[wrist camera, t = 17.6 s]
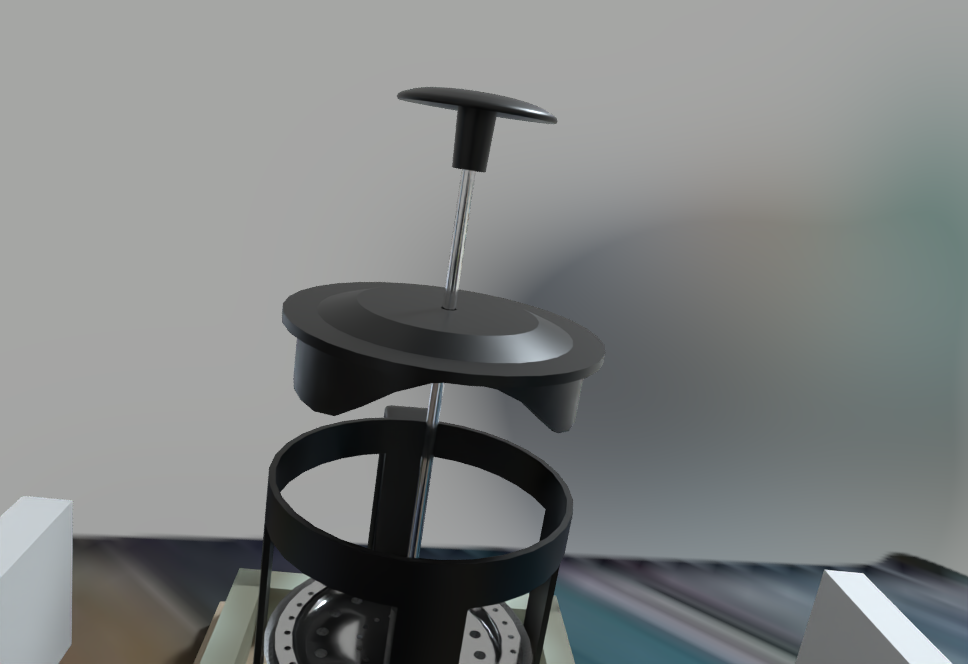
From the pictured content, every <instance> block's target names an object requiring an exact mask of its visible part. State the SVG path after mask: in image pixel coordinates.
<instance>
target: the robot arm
mask: <svg viewBox="0 0 968 664" xmlns="http://www.w3.org/2000/svg"><path fill="white" fill-rule="evenodd" d="M72 520H73V501H72V500H61V499H51V498H40V497H29V496H22V497H21V498H20V499H19V500H18V501H17V502H16V503H15V504H14V505H12V506H11V507H10V508H9V509H8V510H7V511H6V512H5V513H4V514H3V515H2V516H0V664H58V663H59V662H60V660H61V659H62V657H63V656H64V655H65V653H66V652H67V650H68V649H69V647H70V646H71V642H72V530H73V528H72V527H73V524H72V523H73V521H72ZM795 664H952V663H951V662H950V661H949V660H948V659H947V658H946V657H945V656H944V655H943V654H942V653H941V652H940V651H939V650H938V649H937V648H936V647H935V646H934V645H933V644H932V643H931V642H930V641H929V640H928V639H927V638H926V637H925V636H924V635H923V634H922V633H921V632H920V631H919V630H918V629H917V628H916V627H915V626H914V625H913V624H912V623H911V622H910V621H909V620H908V618H907V617H906V616H905V615H904V614H903V613H902V612H901V611H900V610H899V609H898V608H897V607H896V606H895V605H894V604H893V603H892V602H891V601H890V600H889V599H888V598H887V597H886V596H885V595H884V594H883V593H882V592H881V591H880V590H879V589H878V588H877V587H876V586H875V585H874V584H873V583H872V582H871V581H870V580H869V579H868V578H867V577H866V576H865V575H864V574H863V573H853V572H842V571H831V570H824V573H823V576H822V579H821V583H820V586H819V589H818V592H817V595H816V599H815V602H814V605H813V608H812V612H811V615H810V618H809V621H808V624H807V628H806V631H805V634H804V637H803V641H802V644H801V647H800V650H799V653H798V657H797V660H796V663H795Z"/></svg>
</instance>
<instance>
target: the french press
mask: <svg viewBox="0 0 968 664" xmlns="http://www.w3.org/2000/svg"><path fill="white" fill-rule="evenodd" d="M397 97H398V99H400V100H404V101H408V102H413V103H418V104H424V105H429V106H434V107H440V108H445V109H451V110H457V111H458V112H457V113H458V114H457V123H456V134H455V144H454V154H453V165H452V167H454V168H458V169H462V173H461V180H460V187H459V195H458V202H457V209H456V216H455V223H454V230H453V237H452V244H451V251H450V258H449V265H448V273H447V279H446V286H445V288H443V287H436V286H428V285H417V284H405V283H386V282H355V283H337V284H330V285H323V286H316V287H312V288H309V289H305V290H301V291H299V292H297V293H295V294H293V295H291V296H289V297H288V298H287V299H286V301H285V302H284V303H283V309H282V322H283V324H284V325H285V327H286V328H287V330H288V331H289V332H290V333H291V334H292V335H294V336H295V337H297V345H296V356H295V368H294V378H293V379H294V389H295V391H296V393H297V394H298V396H299V398H300V399H301V400H302V401H303V402H304V403H305V404H306V405H307V406H309V407H310V408H311V409H312V410H313V411H315V412H320V413H324V414H328V415H332V416H336V415H339V414H342V413H345V412H347V411H350V410H353V409H356V408H359V407H362V406H364V405H366V404H369V403H371V402H373V401H376V400H378V399H380V398H382V397H385V396H387V395H389V394H392V393H394V392H397V391H401V390H406V389H410V388H414V387H417V386H422V385H426V384H430V383H432V386H431V392H430V399H429V406H428V408H416V407H404V406H387V407H386V408H385V413H384V418H365V419H358V420H350V421H342V422H338V423H334V424H330V425H326V426H322V427H319V428H316V429H314V430H311V431H309V432H306V433H303V434H301V435H300V436H298V437H297V438H295V439H293V440H291V441H290V442H288V443H287V444H286V445H285V446H284V447H283V448H282V449H281V450H280V451H279V452H278V453H277V454H276V455H275V457H274V459H273V461H272V463H271V465H270V467H269V476H268V488H267V500H266V512H265V524H264V536H263V548H262V560H261V572H260V584H259V596H258V608H257V620H256V632H255V644H254V656H253V664H263V663H264V655H265V658H266V662H267V664H540V659H541V654H542V650H543V645H544V640H545V635H546V630H547V625H548V620H549V615H550V610H551V605H552V600H553V595H554V591H555V586H556V581H557V576H558V571H559V566H560V563H561V560H562V558H563V556H564V554H565V548H566V544H567V539H568V534H569V529H570V524H571V520H572V514H573V499H572V497H571V494H570V491H569V488H568V486H567V485H566V483H565V482H564V481H563V479H562V478H561V477H560V475H559V474H558V473H557V472H556V471H555V470H553V468H551V467H550V466H549V465H548V464H547V463H546V462H545V461H543V460H542V459H540V458H538V457H537V456H535V455H534V454H532V453H531V452H529V451H528V450H526V449H524V448H522V447H520V446H518V445H516V444H514V443H511V442H509V441H507V440H505V439H502V438H499V437H497V436H494V435H491V434H488V433H486V432H482V431H478V430H475V429H471V428H468V427H464V426H459V425H455V424H449V423H444V422H439V417H440V410H441V403H442V397H443V390H444V383H451V384H460V385H468V386H484V387H489V388H493V389H497V390H499V391H501V392H503V393H505V394H507V395H509V396H511V397H513V398H515V399H517V400H519V401H521V402H522V403H523V404H524V405H525V406H526V407H527V408H528V409H529V410H530V411H531V412H532V413H533V414H534V415H535V416H536V417H537V418H538V419H539V420H541V421H542V422H543V423H544V424H545V425H546V426H547V427H548V428H549V429H551V430H552V431H554V432H556V433H562V432H566V431H569V430H570V428H571V427H572V425H573V424H574V422H575V418H576V413H577V408H578V403H579V398H580V393H581V388H582V383H583V379H584V378H587V377H588V376H590V375H592V374H594V373H596V372H597V371H598V370H599V369H600V367H601V366H602V365H603V362H604V358H605V347H604V344H603V343H602V342H601V340H600V339H599V338H598V337H597V336H596V335H594V334H593V333H592V332H590V331H589V330H588V329H586V328H584V327H582V326H581V325H579V324H577V323H575V322H573V321H571V320H569V319H566V318H564V317H561V316H559V315H556V314H554V313H551V312H549V311H545V310H543V309H540V308H536V307H533V306H530V305H526V304H523V303H519V302H516V301H511V300H508V299H504V298H499V297H494V296H490V295H486V294H480V293H475V292H470V291H464V290H458V287H459V280H460V273H461V267H462V259H463V253H464V246H465V239H466V233H467V226H468V219H469V212H470V205H471V199H472V192H473V185H474V178H475V171H477V172H478V171H479V172H486V167H487V162H488V157H489V152H490V146H491V141H492V136H493V131H494V126H495V120H496V117H501V118H508V119H515V120H522V121H530V122H537V123H546V124H556V123H557V119H556V117H554V116H553V115H552V114H550V113H549V112H547V111H545V110H544V109H542V108H540V107H538V106H535V105H532V104H529V103H527V102H524V101H520V100H517V99H513V98H509V97H505V96H500V95H495V94H490V93H484V92H479V91H472V90H464V89H455V88H440V87H423V88H414V89H410V90H405V91H402V92H400V93H398V95H397ZM367 454H379V460H378V468H377V476H376V484H375V492H374V500H373V508H372V516H371V524H370V532H369V540H368V548H365V547H362V546H359V545H356V544H353V543H350V542H347V541H344V540H341V539H339V538H337V537H335V536H333V535H331V534H329V533H327V532H325V531H323V530H321V529H319V528H317V527H315V526H313V525H312V524H311V523H309V522H308V521H306V520H305V519H303V518H302V517H301V516H299V515H298V514H297V513H296V512H294V510H293V509H292V508H291V507H290V506H289V505H288V503H287V502H286V501H285V500H284V499H283V498H282V496H281V493H280V492H281V491H282V490H283V489H284V487H285V486H286V485H287V484H288V483H289V482H290V481H291V480H293V479H294V478H296V477H297V476H299V475H300V474H302V473H303V472H305V471H307V470H309V469H312V468H314V467H316V466H318V465H321V464H324V463H327V462H331V461H334V460H338V459H341V458H347V457H353V456H358V455H367ZM434 457H438V458H443V459H448V460H453V461H458V462H461V463H464V464H468V465H472V466H475V467H478V468H481V469H483V470H486V471H488V472H491V473H493V474H496V475H498V476H500V477H502V478H504V479H506V480H508V481H510V482H512V483H513V484H515V485H517V486H519V487H520V488H521V489H523V490H524V491H526V492H527V493H529V494H530V495H531V496H533V497H534V498H535V499H536V500H537V501H538V502H539V503H540V504H541V505H542V506H543V507H544V508H545V509H546V511H545V515H544V521H543V526H542V531H541V537H540V541H539V542H538V543H536V544H534V545H532V546H530V547H528V548H525V549H522V550H519V551H516V552H512V553H509V554H506V555H502V556H495V557H488V558H481V559H474V560H433V559H422V558H419V554H420V547H421V540H422V533H423V526H424V519H425V512H426V506H427V499H428V492H429V485H430V478H431V472H432V465H433V458H434ZM274 545H275V546H276V548H277V549H278V550H279V552H280V553H281V554H282V555H283V557H284V558H285V559H286V560H287V561H289V562H290V563H291V564H292V565H294V566H295V567H296V568H297V569H299V570H300V571H301V572H302V573H304V574H305V575H307V576H309V577H310V578H309V579H308V580H306V581H304V582H303V583H301V584H300V585H298V586H296V587H295V588H294V589H293V590H292V591H291V592H289V593H288V594H287V595H286V596H285V597H284V598H283V599H282V600H281V601H280V602H279V604H278V605H277V607H276V608H275V610H274V611H273V613H272V614H271V616H270V618H269V621H268V624H267V617H268V606H269V594H270V583H271V572H272V560H273V549H274ZM528 592H530V593H529V598H528V603H527V608H526V614H525V619H524V624H522V622H521V621H520V619H519V618H518V617H517V615H516V614H515V613H514V611H513V610H512V609H511V608H510V607H509V606H508V605H507V604H506V603H505V602H506V601H509V600H511V599H514V598H517V597H520V596H523V595H525V594H527V593H528Z"/></svg>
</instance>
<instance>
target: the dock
mask: <svg viewBox="0 0 968 664" xmlns="http://www.w3.org/2000/svg"><path fill="white" fill-rule="evenodd" d="M260 572H261V570H252V569H241V568H240V569H239V571H238V574H237V576H236V578H235V581H234V583H233V586H232V588H231V590H230V593H229V595H228V598H227V600H226V602H220V603H219V606H218V608H217V610H216V613H215V615H214V617H213V620H212V622H211V624H210V627H209V629H208V631H207V634H206V636H205V638H204V640H203V643H202V645H201V647H200V650H199V652H198V654H197V657H196V659H195V661H194V664H253V656H254V644H255V632H256V620H257V608H258V596H259V584H260ZM309 578H310V577H309V576H307V575H305V574H298V573H287V572H275V571H272V572H271V583H270V594H269V606H268V617H267V624H268V621H269V618H270V616H271V614H272V613H273V611H274V610H275V608H276V607H277V605H278V604H279V602H280V601H281V600H282V599H283V598H284V597H285V596H286V595H287V594H288V593H289V592H291V591H292V590H293V589H294V588H295V587H296V586H298V585H300V584H301V583H303V582H304V581H306V580H308V579H309ZM528 598H529V594H528V593H527V594H525V595H523V596H520V597H517V598H514V599H511V600H509V601H506V602H505V603H506V604H507V605H508V606H509V607H510V608H511V609H512V610H513V611H514V613H515V614H516V615H517V617H518V618H519V619H520V621H521V622H522V624H524V619H525V614H526V608H527V603H528ZM263 664H267V662H266V658H265V655H264V663H263ZM540 664H575V662H574V659H573V655H572V651H571V648H570V644H569V641H568V637H567V634H566V630H565V626H564V623H563V619H562V616H561V612H560V608H559V605H558V601H557V598H556V596H553V600H552V605H551V610H550V615H549V620H548V625H547V630H546V635H545V640H544V645H543V650H542V654H541V659H540Z"/></svg>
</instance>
